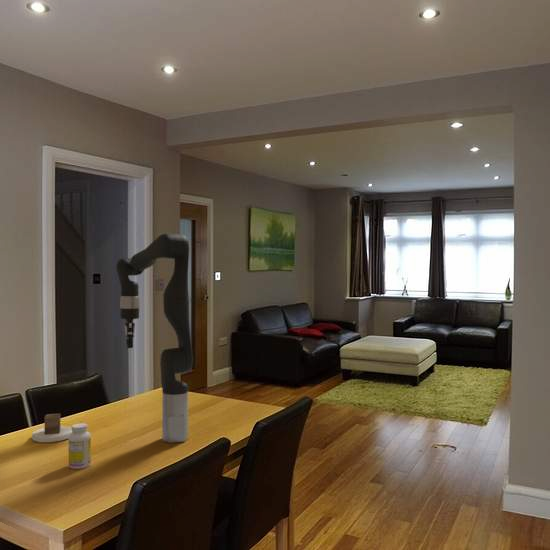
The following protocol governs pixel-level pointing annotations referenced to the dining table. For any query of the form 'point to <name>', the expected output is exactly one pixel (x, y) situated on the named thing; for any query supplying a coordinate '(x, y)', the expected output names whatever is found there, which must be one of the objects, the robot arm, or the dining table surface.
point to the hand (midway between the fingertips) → (129, 346)
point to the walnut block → (52, 424)
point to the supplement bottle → (79, 447)
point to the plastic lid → (51, 435)
